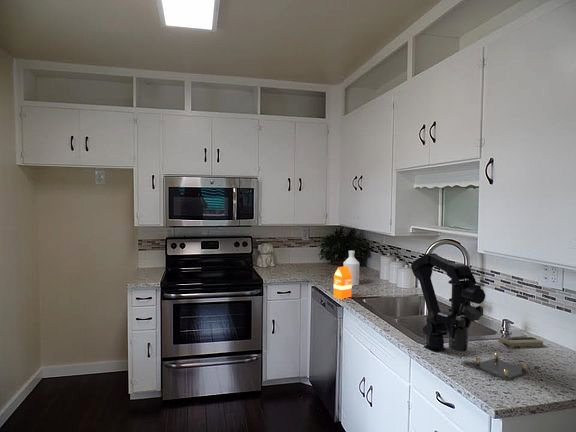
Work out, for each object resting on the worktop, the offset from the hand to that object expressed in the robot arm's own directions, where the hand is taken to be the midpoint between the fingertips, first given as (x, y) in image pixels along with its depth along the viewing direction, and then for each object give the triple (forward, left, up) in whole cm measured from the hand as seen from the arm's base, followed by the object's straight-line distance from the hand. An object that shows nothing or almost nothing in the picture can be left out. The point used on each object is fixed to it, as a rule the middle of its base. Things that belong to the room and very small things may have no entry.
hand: (458, 336), depth 151 cm
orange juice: (-102, +17, -11) cm, 104 cm away
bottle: (-129, +45, -11) cm, 137 cm away
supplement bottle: (0, 0, -5) cm, 5 cm away
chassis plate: (+12, +9, -10) cm, 18 cm away
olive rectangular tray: (0, +41, -11) cm, 43 cm away
